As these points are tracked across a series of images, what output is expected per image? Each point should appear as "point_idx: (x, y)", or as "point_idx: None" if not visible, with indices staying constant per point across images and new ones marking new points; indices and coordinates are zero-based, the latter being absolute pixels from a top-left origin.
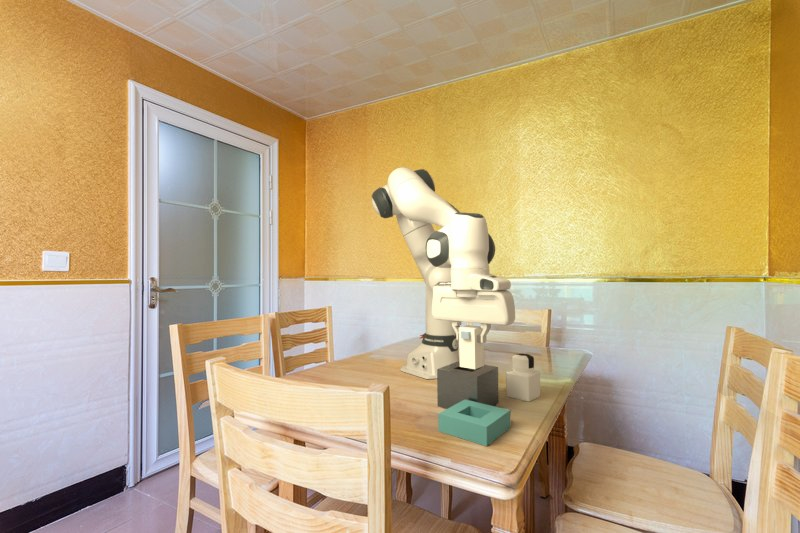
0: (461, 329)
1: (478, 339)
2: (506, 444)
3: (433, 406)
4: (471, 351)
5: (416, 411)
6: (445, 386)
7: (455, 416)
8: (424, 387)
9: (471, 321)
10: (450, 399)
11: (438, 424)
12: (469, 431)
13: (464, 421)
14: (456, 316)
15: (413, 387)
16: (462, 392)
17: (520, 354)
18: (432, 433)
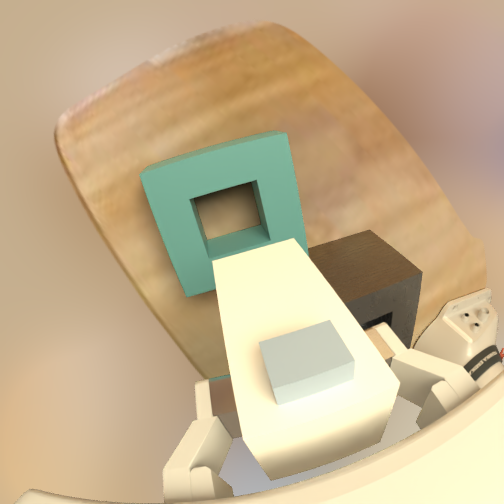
0: (370, 383)
1: (226, 389)
2: (132, 209)
3: (375, 222)
4: (242, 304)
5: (382, 172)
6: (377, 259)
7: (241, 155)
8: (436, 275)
9: (297, 490)
10: (349, 249)
11: (278, 131)
12: (188, 155)
13: (202, 153)
14: (468, 443)
15: (449, 258)
16: (327, 272)
17: None
18: (274, 111)
